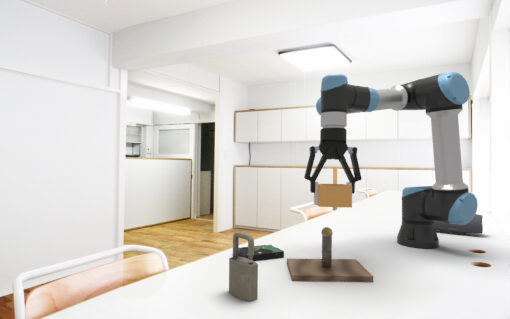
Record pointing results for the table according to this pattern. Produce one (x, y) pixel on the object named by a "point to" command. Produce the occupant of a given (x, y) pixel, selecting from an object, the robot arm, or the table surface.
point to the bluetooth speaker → (461, 226)
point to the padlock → (243, 270)
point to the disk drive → (262, 253)
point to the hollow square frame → (334, 195)
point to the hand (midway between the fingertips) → (332, 204)
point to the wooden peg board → (328, 266)
